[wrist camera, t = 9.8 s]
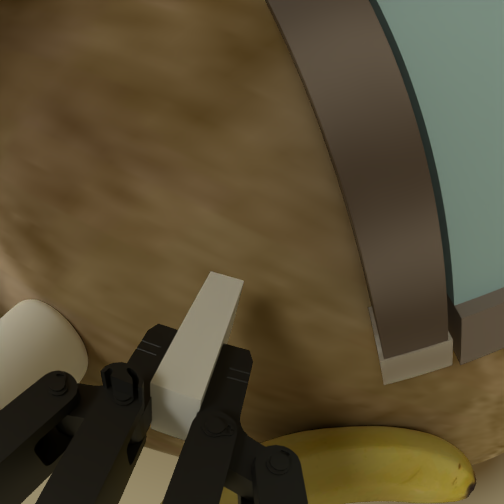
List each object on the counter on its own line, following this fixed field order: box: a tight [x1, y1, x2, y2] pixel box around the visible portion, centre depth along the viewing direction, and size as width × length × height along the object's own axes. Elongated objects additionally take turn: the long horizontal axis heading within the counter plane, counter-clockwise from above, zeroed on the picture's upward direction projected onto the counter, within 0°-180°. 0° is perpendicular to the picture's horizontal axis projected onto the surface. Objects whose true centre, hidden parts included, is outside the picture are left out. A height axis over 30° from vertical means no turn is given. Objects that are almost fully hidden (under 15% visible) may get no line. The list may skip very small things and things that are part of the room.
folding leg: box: [265, 0, 453, 385], centre depth 11 cm, size 19×3×4 cm, turn 22°
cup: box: [0, 299, 88, 410], centre depth 19 cm, size 8×12×10 cm
